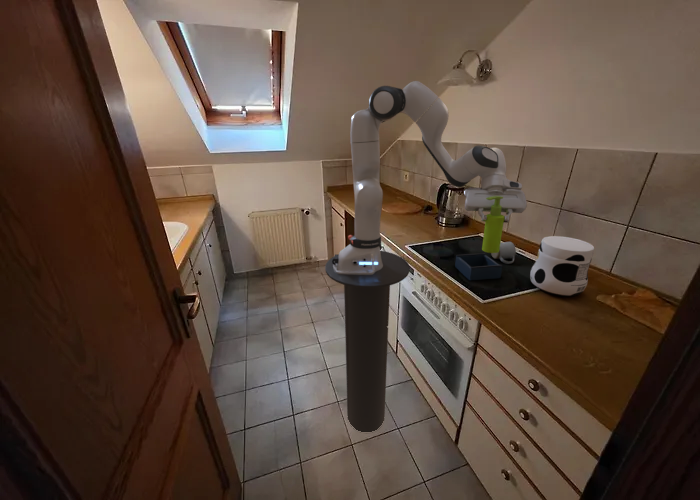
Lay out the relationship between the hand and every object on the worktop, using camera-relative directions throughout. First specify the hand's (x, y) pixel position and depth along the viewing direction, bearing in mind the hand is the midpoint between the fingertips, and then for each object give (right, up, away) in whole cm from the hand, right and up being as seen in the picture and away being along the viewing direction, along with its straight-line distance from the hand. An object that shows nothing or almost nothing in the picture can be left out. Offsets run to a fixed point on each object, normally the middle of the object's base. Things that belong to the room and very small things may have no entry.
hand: (495, 221), depth 105 cm
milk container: (+25, -25, +6) cm, 36 cm away
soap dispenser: (0, -10, +5) cm, 12 cm away
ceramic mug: (+19, -15, +31) cm, 39 cm away
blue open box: (+2, -19, +19) cm, 27 cm away
